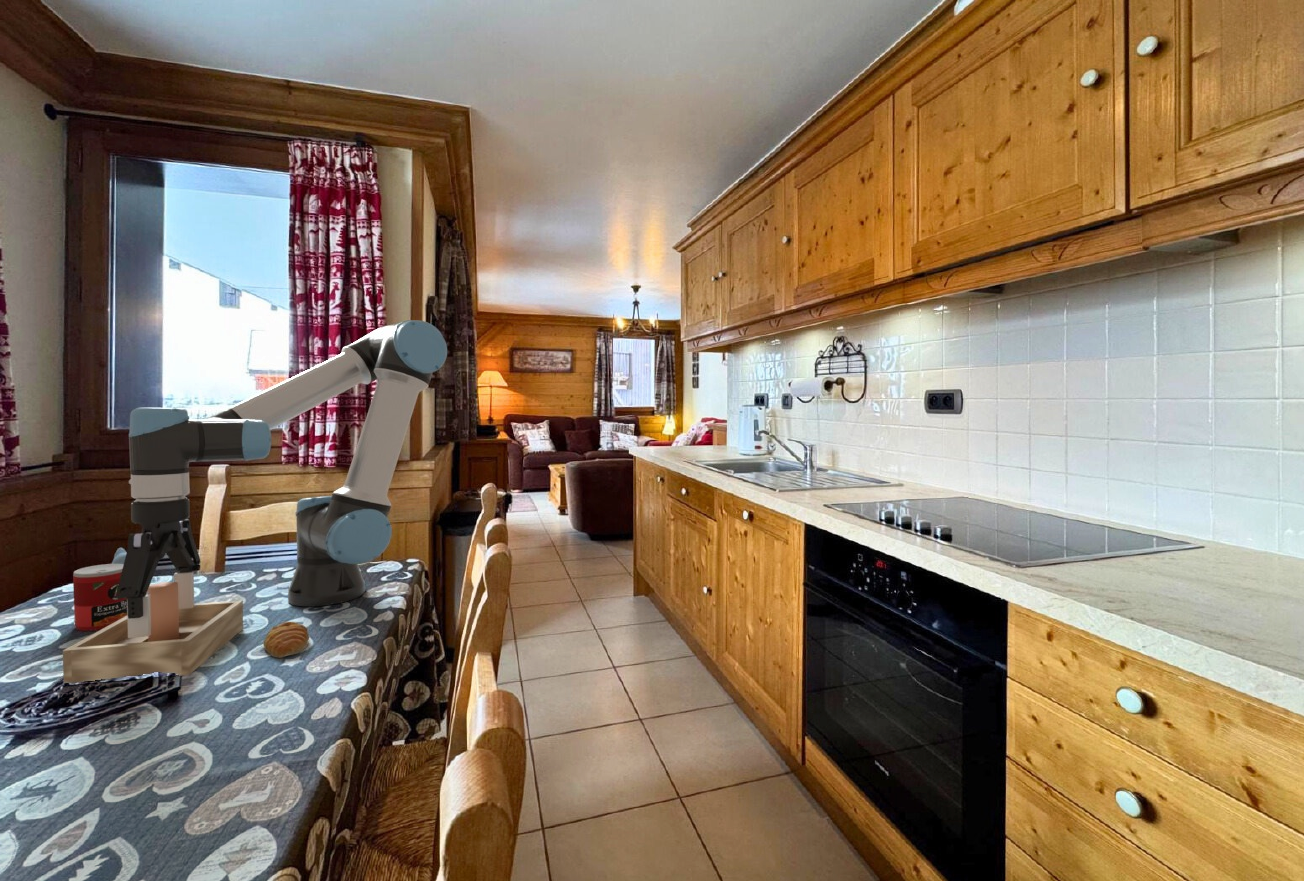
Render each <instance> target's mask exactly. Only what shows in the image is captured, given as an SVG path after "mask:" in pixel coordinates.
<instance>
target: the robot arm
mask: <svg viewBox="0 0 1304 881" xmlns="http://www.w3.org/2000/svg"><path fill="white" fill-rule="evenodd" d="M447 357H448V346H447V343H446V340H445V338H444V336H443V335H442V333H441V331H440V330H439V329H438V328H437V327H436V326H434V325H433V324H432V323H429V322H427V321H425V320H424V321H423V320H419V319H418V320H417V319H416V320H413V319H407V320H404V321H401V322H398V323H394V324H393V323H392V324H386V325H382V326H381V327H378V328H377V329H374V330H373V331H371V332H370V333H367V334H366V335H364V336H363V337H360V338H359V339H358V340H356V341H353V343H350V344H348V345H345V346H343V347H342V349H341V353H340V354H338V355H336V356H334V357H332V358H329V359H328V360H325V361H324V362H322V363H319V364H317V365H315V366H313V367H311V368H310V369H307V370H305V371H303V372H301V373H299V374H296V375H295V376H292V377H291V378H287V379H286V380H284V381H282V382H280V383H277V384H276V385H273V386H271V387H269V388H267V389H265V390H263V391H261V392H259V393H257V394H255V395H252V396H250V397H249V398H247V399H245V400H242V401H240V402H237V403H236V404H234V405H232V406H229V408H227V409H224V410H221V411H219V412H218V413H215V414H213V415H211V416H209V417H208V416H207V417H203V418H200V419H196V418H195V419H194V418H190V416H189V412H188V410H187V409H186V408H182V407H137V408H133V410H132V411H131V412H130V414H129V433H128V445H129V447H128V448H129V466H130V479H129V480H128V484H129V485H130V497H131V498H133V499H135V500H133V501H132V502H131V504H130V517H131V518H130V520H131V522H132V523H133V524H135V525H141V533H130V534H129V535H128V537H127V538H128V539H127V550H126V552H127V553H126V557H125V561H124V565H123V569H122V573H121V577H120V580H119V584H118V588H117V592H116V597H117V598H119V599H120V598H127V621H128V638H133V637H146V636H150V635H151V606H150V595H147V591H148V588H149V586H150V585H151V583H152V580H153V577H154V576H155V575H154V574H155V572H156V570H157V567H158V565H159V561H160V560H161V559H163V558H165V555H166V556H167V557H168V559H169V560H170V562H171V563H172V565H173V567H174V568H175V570H176V571H177V572H175V573H174V574H173V582H177V583H178V603H179V609H187V608H193V607H194V604H195V583H194V582H195V577H194V576H195V573H194V572H195V571H196V572H197V571H200V570H201V558H200V555H199V551H198V548H197V545H196V540H195V538H194V536H193V532H192V525H191V520H190V519H189V518H190V516H191V513H190V512H191V510H190V508H191V507H190V506H191V505H190V502H191V501H190V499H189V498H188V497H186V496H188V495H190V494H191V492H190V491H191V489H190V487H191V486H190V469H189V467H190V463H192V462H193V463H201V462H224V461H225V462H227V461H245V462H248V461H251V460H252V461H253V460H262V459H266V457H268V456H269V455H270V451H271V447H272V433H271V431H272V430H274V429H276V428H277V427H279V426H281V425H282V424H285V423H286V422H288V421H290V420H292V419H294V418H296V417H298V416H300V415H302V414H304V413H306V412H308V411H309V410H312V409H313V408H316V407H317V406H319V405H321V404H323V403H325V402H327V401H329V400H331V399H333V398H334V397H337V396H338V395H340V394H343V393H344V392H346V391H348V390H350V389H352V388H353V387H355V386H358V385H360V384H364V385H369V384H371V383H373V382H375V381H377V384H376V387H375V390H374V393H373V396H372V400H371V402H370V405H369V408H368V410H367V411H368V412H367V414H366V418H365V420H364V423H363V427H362V429H361V432H360V436H359V439H358V442H357V445H356V448H355V451H354V454H353V456H352V460H351V463H350V466H349V468H348V469H349V470H348V472H347V475H346V478H345V481H344V484H343V486H342V487H340V488H338V489H336V490H334V491H333V492H332V495H327V496H315V497H304V498H301V499H299V500H298V501H297V502H296V512H295V513H294V515H295V517H296V568H295V570H294V574H293V577H292V579H291V582H290V585H289V588H288V592H287V598H288V599H287V602H288V603H289V604H290V605H293V606H299V607H321V606H324V607H325V606H330V605H331V606H332V605H336V604H340V603H341V604H342V603H345V602H349V601H353V600H354V599H356V598H359V597H361V596H362V595H363V594H364V593H365V587H366V586H365V585H366V584H365V581H364V577H363V575H362V572H361V570H360V567H359V565H363V564H366V563H370V562H372V561H373V560H375V559H377V558H378V557H380V556H381V555H382V553H384V552H385V550H386V549H387V547H388V546H389V544H390V541H391V539H392V534H393V530H392V529H393V528H392V525H391V522H390V520H389V515H390V513H391V512H390V511H391V509H392V503H391V501H390V499H389V497H388V492H389V489H390V486H391V483H392V480H393V476H394V473H395V469H396V467H397V463H398V462H399V461H398V460H399V457H400V453H401V451H402V447H403V445H404V442H405V438H406V435H407V431H408V428H409V426H410V421H411V418H412V415H413V414H414V409H415V406H416V403H417V401H418V396H419V394H420V392H422V391H425V390H426V389H428V388H429V385H430V382H431V379H432V376H433V373H435V372H437V371H438V370H439V369H440V368H442V367H443V365H444V364H445V362H446V359H447Z"/></svg>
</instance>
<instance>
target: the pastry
mask: <svg viewBox="0 0 1304 881" xmlns="http://www.w3.org/2000/svg"><path fill="white" fill-rule="evenodd" d="M309 640H310V635H309V634H308V628H307V627H306V626H304V624H299V623H298V622H295V621H285V622H281V623H280V624H279V625H278V624H277V625H275V626H273V628H271V629H270V630H269V631H268V633H267V634H266V637H265V639H264V641H263V643H262V644H263V647H264V649H265V651H266V652H267V653H268V654H269V655H271V656H272V657H274V658H280V659H281V658H284V657H287V656H290V655H296V654H300V653H302V652H303V650H304V649H305V648H306V647H307V646H308V642H309Z"/></svg>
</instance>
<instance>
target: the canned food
mask: <svg viewBox="0 0 1304 881" xmlns="http://www.w3.org/2000/svg"><path fill="white" fill-rule="evenodd" d="M123 565H124V564H112V563H107V564H103V563H102V564H97V565H91V566H85V567H81V568H79V569H77V570H74V571H73V574H72V577H73V578H72V582H73V583H72V584H73V588H72V589H73V609H74V611H73V614H74V627H75V629H76V630H78V631H82V632H91V631H92V632H94V631H100V630H101V629H103V628H105V627H107V626H109V625H111V624H112V623H114V622H116V621H118V620H120V619H122V618H123V617H125V616H127V598H120V599H119V598H117V597H116V592H117V588H118V584H119V580H120V577H121V573H122V569H123Z"/></svg>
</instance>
